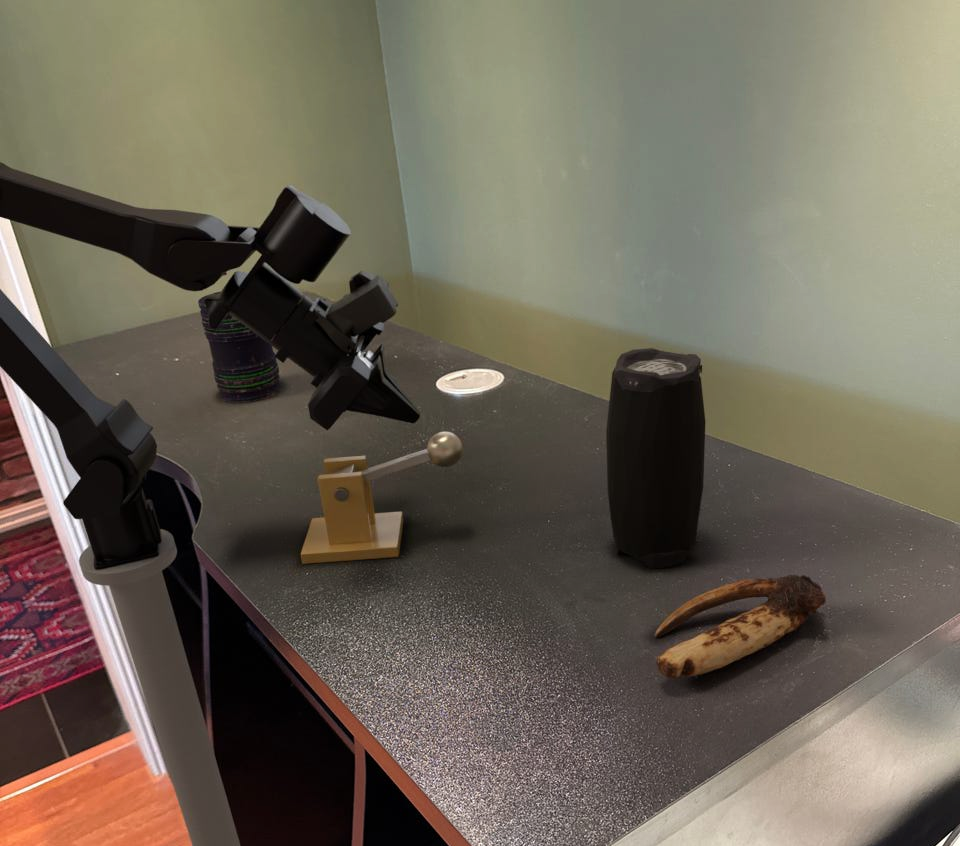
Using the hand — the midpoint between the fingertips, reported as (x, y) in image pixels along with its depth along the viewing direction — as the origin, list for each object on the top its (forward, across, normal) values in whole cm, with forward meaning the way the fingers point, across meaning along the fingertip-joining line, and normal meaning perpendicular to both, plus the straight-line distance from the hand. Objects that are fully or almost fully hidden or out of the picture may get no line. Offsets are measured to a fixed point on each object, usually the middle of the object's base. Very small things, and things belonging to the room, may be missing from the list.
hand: (417, 418), depth 91 cm
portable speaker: (+26, -6, -6) cm, 27 cm away
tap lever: (+3, 0, +6) cm, 7 cm away
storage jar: (-12, +52, +31) cm, 61 cm away
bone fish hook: (+28, -22, -8) cm, 37 cm away
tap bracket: (+4, 0, +15) cm, 16 cm away
